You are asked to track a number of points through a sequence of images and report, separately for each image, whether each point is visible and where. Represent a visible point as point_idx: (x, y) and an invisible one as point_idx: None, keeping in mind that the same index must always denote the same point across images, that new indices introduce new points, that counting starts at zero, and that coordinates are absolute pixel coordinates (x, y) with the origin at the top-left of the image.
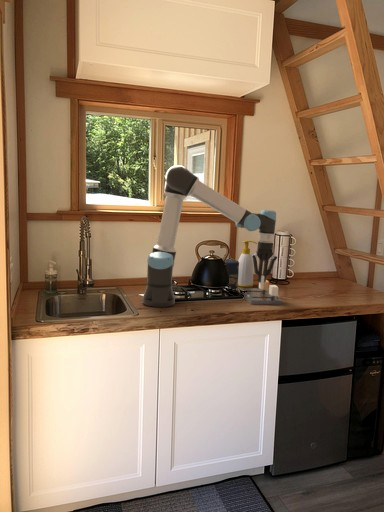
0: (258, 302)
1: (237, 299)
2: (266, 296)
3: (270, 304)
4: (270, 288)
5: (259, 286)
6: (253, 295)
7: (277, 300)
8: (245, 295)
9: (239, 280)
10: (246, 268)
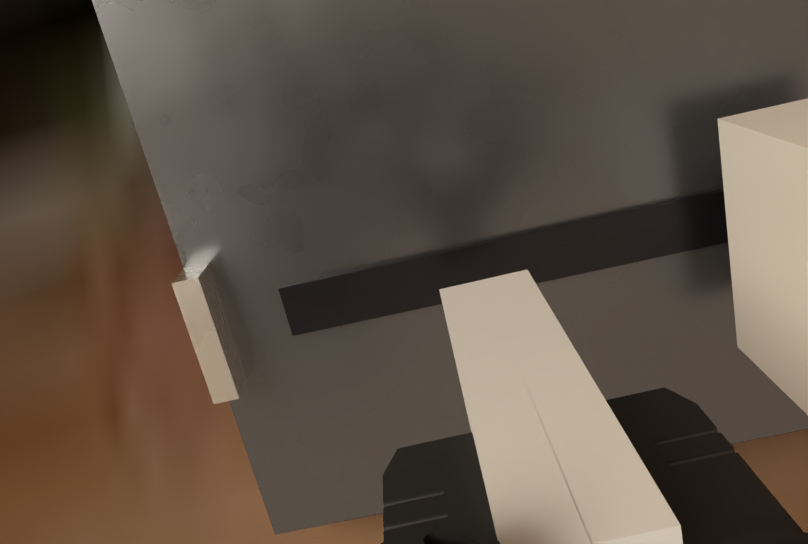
0: None
1: (17, 225)
2: (632, 146)
3: None
4: (802, 255)
5: (458, 374)
6: (329, 138)
7: (795, 420)
8: (145, 146)
9: None
10: None
